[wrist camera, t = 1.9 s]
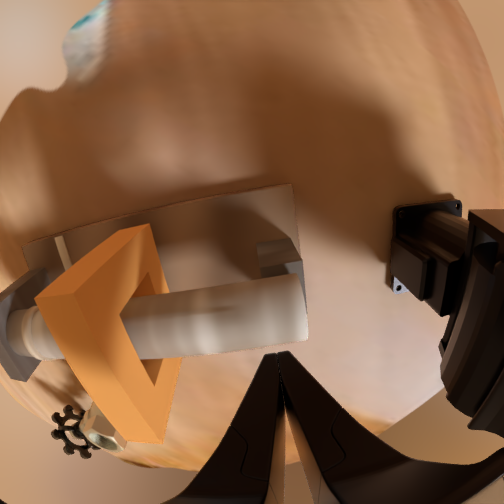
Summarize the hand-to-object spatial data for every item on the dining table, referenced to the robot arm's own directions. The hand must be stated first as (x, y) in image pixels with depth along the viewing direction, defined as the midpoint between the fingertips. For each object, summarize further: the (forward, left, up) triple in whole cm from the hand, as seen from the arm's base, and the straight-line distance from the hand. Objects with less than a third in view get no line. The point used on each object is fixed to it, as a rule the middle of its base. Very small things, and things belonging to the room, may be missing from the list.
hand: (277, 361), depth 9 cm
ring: (+7, 0, -7) cm, 10 cm away
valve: (+18, +13, -10) cm, 24 cm away
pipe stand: (+8, 0, -9) cm, 12 cm away
